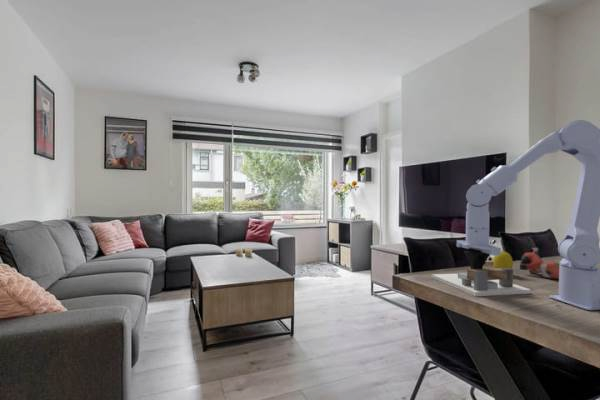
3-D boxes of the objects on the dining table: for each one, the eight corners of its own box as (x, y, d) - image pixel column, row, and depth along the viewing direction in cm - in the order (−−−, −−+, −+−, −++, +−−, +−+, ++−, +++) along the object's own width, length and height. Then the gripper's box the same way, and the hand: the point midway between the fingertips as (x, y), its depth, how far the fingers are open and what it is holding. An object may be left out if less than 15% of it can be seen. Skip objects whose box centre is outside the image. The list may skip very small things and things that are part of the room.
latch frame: (530, 293, 85) (531, 271, 84) (475, 296, 81) (475, 273, 81) (478, 275, 103) (479, 257, 103) (431, 277, 100) (432, 258, 100)
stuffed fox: (536, 251, 112) (577, 254, 101) (527, 280, 109) (569, 286, 98) (525, 240, 110) (566, 242, 99) (516, 269, 106) (558, 274, 96)
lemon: (516, 276, 103) (516, 252, 103) (499, 276, 103) (499, 251, 103) (505, 272, 109) (506, 249, 109) (489, 272, 109) (490, 249, 109)
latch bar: (505, 283, 90) (506, 267, 90) (515, 286, 86) (516, 270, 86) (465, 285, 87) (466, 269, 87) (474, 288, 84) (474, 271, 84)
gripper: (447, 225, 94) (447, 270, 94) (484, 231, 80) (483, 284, 80) (468, 225, 96) (467, 270, 96) (508, 230, 81) (507, 283, 81)
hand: (476, 276), depth 88 cm, fingers closed
